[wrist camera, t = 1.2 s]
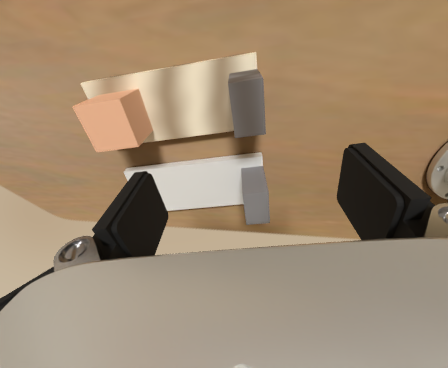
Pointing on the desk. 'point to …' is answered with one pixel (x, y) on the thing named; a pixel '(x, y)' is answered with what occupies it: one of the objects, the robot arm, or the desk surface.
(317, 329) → the robot arm
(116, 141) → the cube
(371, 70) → the desk surface
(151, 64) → the desk surface
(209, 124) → the cube strip
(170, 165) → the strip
